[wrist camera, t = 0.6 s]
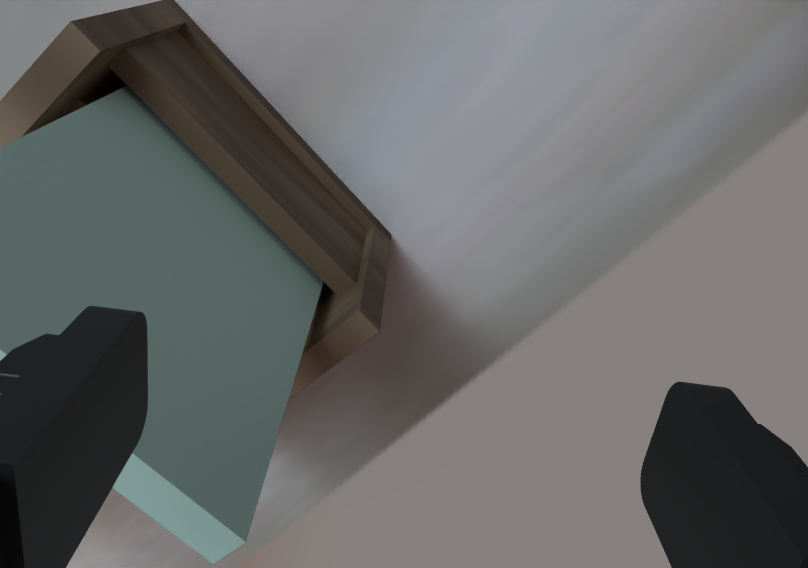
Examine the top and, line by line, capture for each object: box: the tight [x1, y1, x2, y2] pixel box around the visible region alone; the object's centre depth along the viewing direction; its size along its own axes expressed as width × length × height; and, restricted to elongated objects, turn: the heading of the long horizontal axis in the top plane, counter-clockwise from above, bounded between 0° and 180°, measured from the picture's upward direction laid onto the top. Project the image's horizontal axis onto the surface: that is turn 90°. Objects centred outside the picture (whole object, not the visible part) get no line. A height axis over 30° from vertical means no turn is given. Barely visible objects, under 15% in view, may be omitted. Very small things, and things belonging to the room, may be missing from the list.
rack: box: [0, 0, 391, 399], centre depth 31 cm, size 14×15×10 cm
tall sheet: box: [0, 86, 324, 564], centre depth 25 cm, size 1×11×20 cm, turn 41°
